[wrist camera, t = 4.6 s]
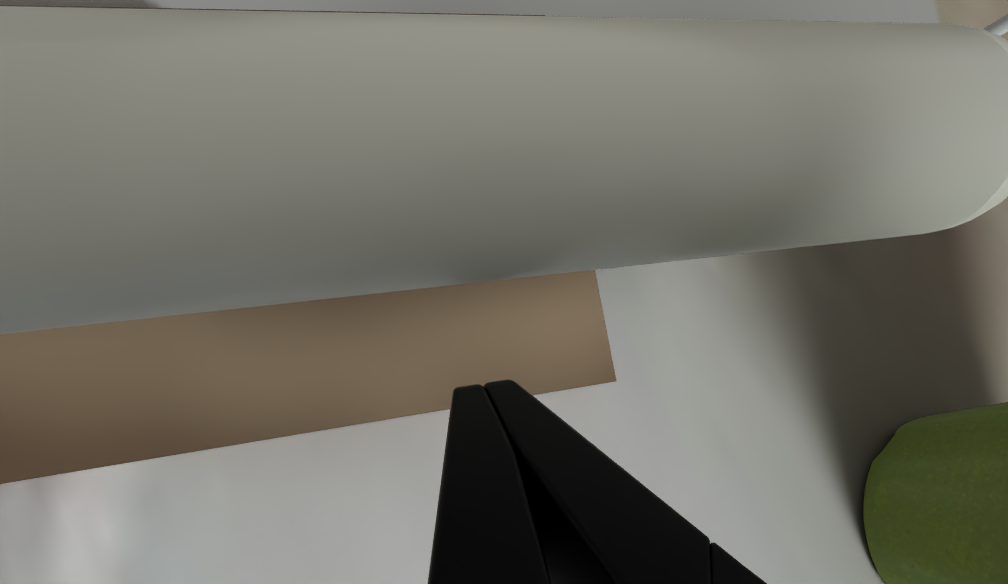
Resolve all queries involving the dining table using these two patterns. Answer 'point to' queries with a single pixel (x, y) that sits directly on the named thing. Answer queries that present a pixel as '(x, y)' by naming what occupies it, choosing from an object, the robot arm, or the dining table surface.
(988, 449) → the plant pot
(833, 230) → the toggle
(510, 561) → the robot arm
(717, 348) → the dining table surface
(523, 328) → the switch board
